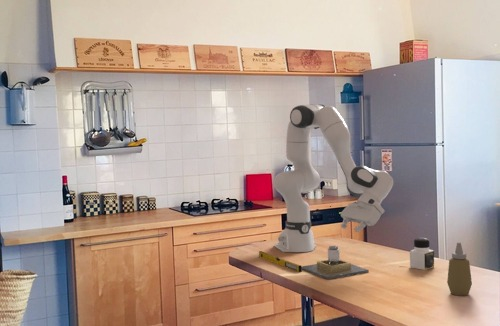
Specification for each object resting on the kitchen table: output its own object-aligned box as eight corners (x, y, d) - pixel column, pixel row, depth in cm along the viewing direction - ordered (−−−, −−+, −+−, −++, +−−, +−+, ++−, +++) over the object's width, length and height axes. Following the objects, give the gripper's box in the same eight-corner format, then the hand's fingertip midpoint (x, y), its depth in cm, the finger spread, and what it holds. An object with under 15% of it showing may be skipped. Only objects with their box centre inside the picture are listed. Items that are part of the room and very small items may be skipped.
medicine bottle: (425, 270, 228) (424, 241, 227) (409, 267, 234) (409, 239, 233) (434, 267, 233) (434, 238, 232) (419, 264, 238) (418, 236, 237)
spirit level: (259, 257, 262) (259, 251, 261) (261, 257, 262) (261, 251, 262) (298, 273, 232) (298, 265, 232) (301, 272, 233) (301, 265, 233)
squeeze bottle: (459, 298, 191) (458, 246, 190) (442, 292, 198) (441, 242, 197) (477, 294, 194) (476, 243, 193) (459, 289, 201) (459, 239, 200)
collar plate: (300, 268, 237) (300, 260, 237) (339, 262, 246) (339, 254, 246) (327, 279, 219) (327, 270, 219) (368, 272, 228) (368, 263, 228)
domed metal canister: (325, 267, 234) (325, 246, 233) (335, 266, 236) (334, 245, 235) (332, 270, 230) (332, 248, 229) (342, 268, 232) (341, 247, 231)
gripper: (348, 196, 247) (330, 221, 244) (378, 202, 229) (359, 228, 225) (357, 205, 250) (339, 230, 246) (387, 211, 231) (368, 238, 228)
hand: (349, 229), depth 236 cm, fingers open, 8 cm apart
